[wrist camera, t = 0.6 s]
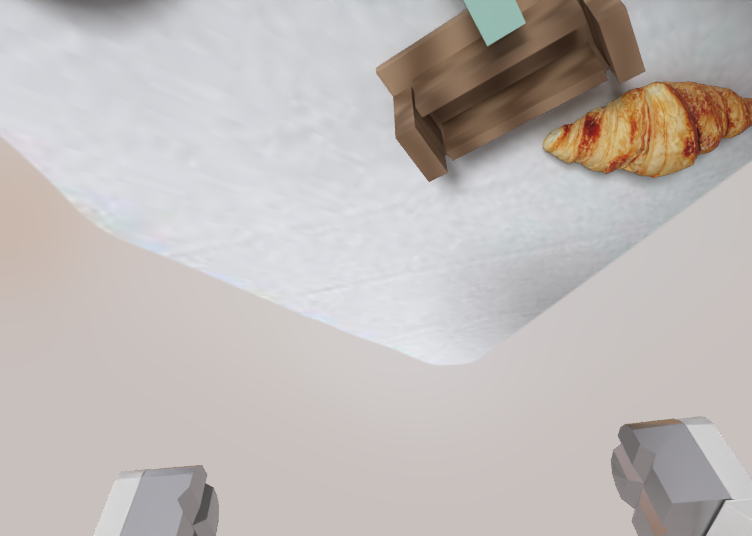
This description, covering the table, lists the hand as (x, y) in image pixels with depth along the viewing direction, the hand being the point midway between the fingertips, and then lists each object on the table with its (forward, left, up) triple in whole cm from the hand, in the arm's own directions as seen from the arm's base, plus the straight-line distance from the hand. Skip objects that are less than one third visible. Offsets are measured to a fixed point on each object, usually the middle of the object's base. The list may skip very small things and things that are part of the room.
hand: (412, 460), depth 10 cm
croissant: (-12, +32, -44) cm, 56 cm away
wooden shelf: (-2, +18, -44) cm, 47 cm away
